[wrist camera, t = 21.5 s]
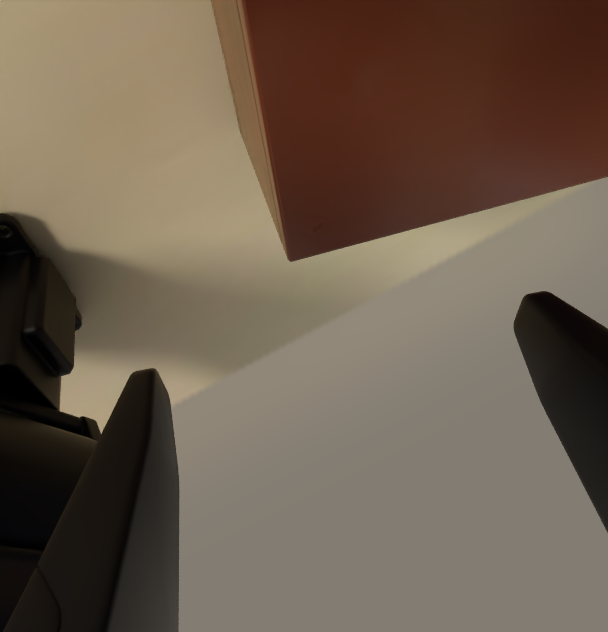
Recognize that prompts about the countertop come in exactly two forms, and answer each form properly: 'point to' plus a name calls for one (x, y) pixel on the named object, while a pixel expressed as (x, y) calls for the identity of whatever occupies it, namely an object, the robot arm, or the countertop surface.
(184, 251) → the countertop surface
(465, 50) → the cabinet
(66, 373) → the robot arm
